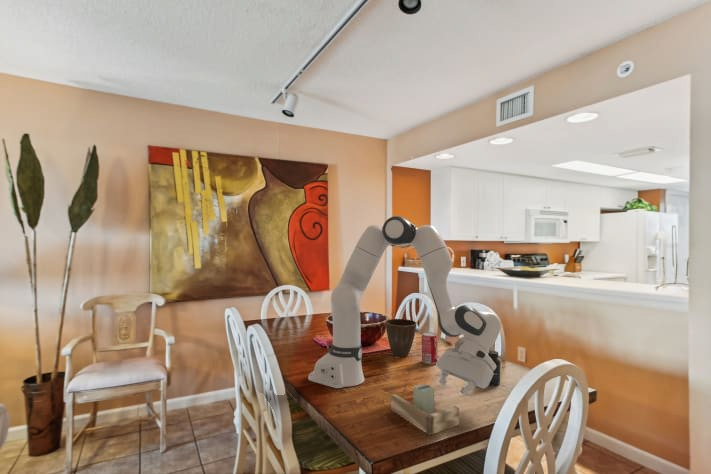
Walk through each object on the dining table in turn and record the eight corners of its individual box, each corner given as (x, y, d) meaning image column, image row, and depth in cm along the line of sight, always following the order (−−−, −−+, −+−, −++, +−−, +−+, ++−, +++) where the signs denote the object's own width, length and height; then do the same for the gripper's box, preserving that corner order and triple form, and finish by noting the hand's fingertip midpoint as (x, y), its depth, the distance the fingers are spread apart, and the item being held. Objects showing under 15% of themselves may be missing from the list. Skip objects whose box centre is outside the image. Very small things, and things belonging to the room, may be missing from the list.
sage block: (424, 411, 120) (424, 383, 120) (434, 417, 116) (434, 387, 116) (413, 414, 118) (413, 385, 118) (423, 420, 114) (423, 390, 114)
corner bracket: (419, 401, 128) (419, 387, 128) (459, 424, 112) (459, 407, 112) (391, 410, 121) (391, 395, 121) (429, 435, 106) (429, 417, 106)
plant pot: (416, 351, 185) (416, 319, 185) (416, 361, 170) (416, 326, 170) (386, 349, 187) (386, 318, 187) (383, 359, 173) (383, 324, 173)
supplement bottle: (491, 387, 141) (491, 355, 141) (478, 380, 147) (478, 350, 147) (504, 383, 144) (504, 353, 144) (490, 377, 150) (490, 348, 150)
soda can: (437, 365, 164) (437, 336, 164) (421, 364, 165) (421, 335, 165) (437, 360, 171) (437, 332, 171) (421, 359, 172) (421, 331, 172)
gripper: (445, 341, 136) (425, 373, 131) (492, 356, 119) (471, 394, 113) (453, 351, 138) (434, 383, 133) (501, 368, 121) (481, 405, 116)
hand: (451, 388), depth 123 cm, fingers open, 8 cm apart
